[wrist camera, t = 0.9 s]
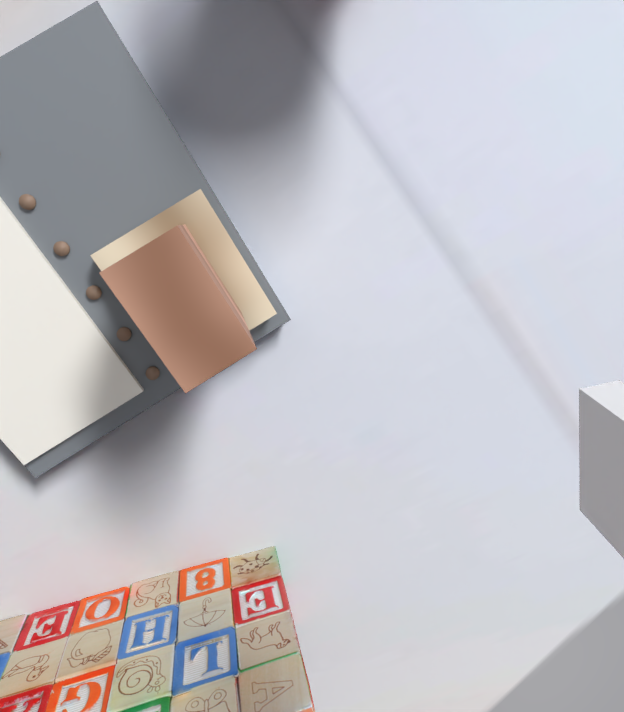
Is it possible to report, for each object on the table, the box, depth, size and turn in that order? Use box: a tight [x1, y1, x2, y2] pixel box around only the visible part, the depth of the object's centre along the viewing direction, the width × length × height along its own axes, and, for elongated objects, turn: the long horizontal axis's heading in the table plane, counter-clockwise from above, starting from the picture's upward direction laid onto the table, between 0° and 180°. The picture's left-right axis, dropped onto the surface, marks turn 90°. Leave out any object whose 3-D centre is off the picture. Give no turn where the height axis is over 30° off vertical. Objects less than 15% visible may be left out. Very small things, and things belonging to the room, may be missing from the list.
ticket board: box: [0, 1, 291, 478], centre depth 26 cm, size 16×17×2 cm
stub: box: [90, 189, 277, 393], centre depth 23 cm, size 6×7×9 cm
